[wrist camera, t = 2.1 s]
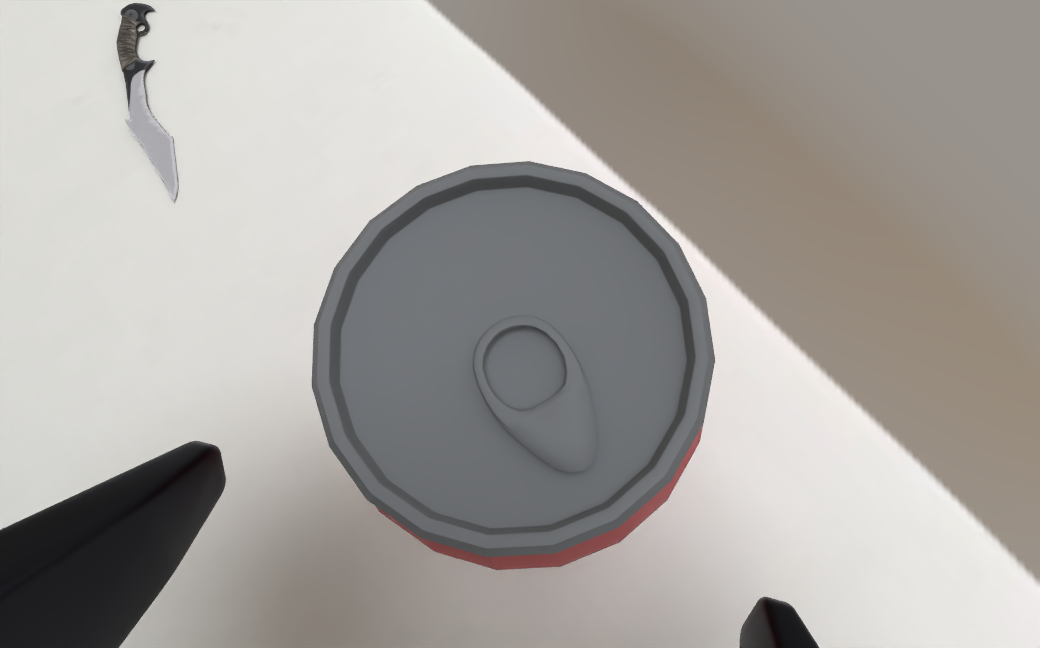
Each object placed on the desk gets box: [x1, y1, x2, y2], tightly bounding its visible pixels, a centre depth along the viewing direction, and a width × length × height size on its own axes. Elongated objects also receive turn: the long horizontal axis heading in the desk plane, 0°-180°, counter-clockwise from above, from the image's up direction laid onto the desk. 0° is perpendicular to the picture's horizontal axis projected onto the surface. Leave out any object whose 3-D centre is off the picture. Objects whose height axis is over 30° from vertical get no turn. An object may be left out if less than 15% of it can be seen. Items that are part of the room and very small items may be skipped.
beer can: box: [312, 161, 715, 570], centre depth 13 cm, size 7×7×12 cm
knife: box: [117, 3, 178, 203], centre depth 23 cm, size 10×2×1 cm, turn 15°
